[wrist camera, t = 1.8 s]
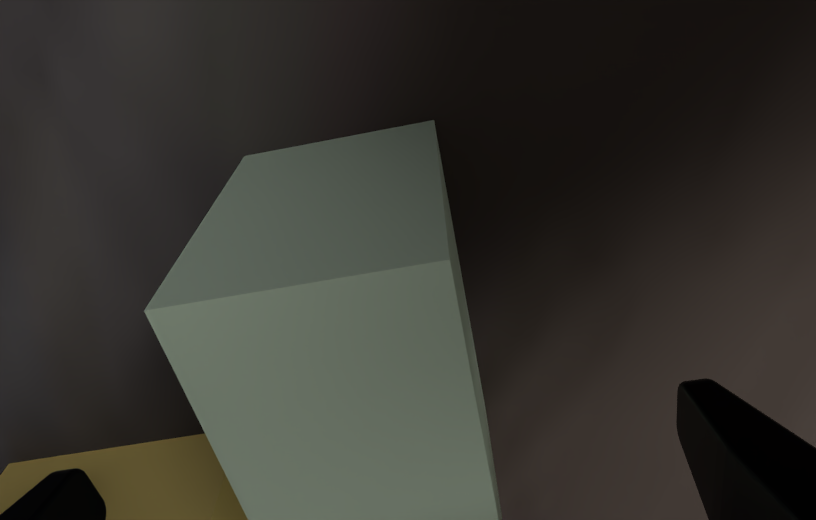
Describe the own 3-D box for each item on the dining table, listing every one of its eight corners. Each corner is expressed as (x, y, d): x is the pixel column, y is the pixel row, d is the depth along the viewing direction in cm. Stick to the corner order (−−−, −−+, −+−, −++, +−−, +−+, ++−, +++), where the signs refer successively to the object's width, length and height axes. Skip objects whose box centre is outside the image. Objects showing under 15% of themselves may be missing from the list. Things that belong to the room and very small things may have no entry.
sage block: (433, 118, 11) (449, 260, 7) (485, 406, 14) (518, 623, 10) (245, 154, 11) (144, 310, 7) (339, 427, 15) (310, 645, 10)
